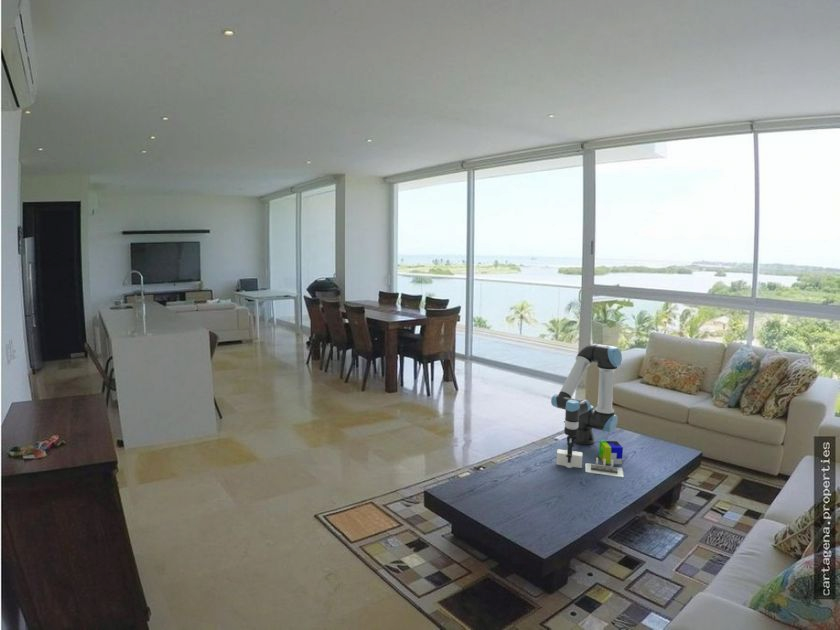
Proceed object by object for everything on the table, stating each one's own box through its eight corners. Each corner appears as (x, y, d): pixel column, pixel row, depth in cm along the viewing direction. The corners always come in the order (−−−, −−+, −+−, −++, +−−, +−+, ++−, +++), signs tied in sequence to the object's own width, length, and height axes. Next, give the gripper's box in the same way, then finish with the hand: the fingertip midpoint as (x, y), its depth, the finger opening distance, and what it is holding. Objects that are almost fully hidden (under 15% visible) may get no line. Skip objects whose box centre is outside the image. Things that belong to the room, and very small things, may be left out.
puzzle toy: (621, 464, 304) (622, 447, 302) (604, 463, 304) (605, 447, 302) (615, 457, 313) (616, 441, 312) (598, 456, 314) (600, 440, 312)
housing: (556, 464, 301) (557, 453, 300) (556, 460, 307) (557, 449, 306) (581, 468, 297) (582, 456, 296) (581, 463, 303) (582, 452, 302)
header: (585, 463, 303) (586, 452, 302) (622, 468, 297) (622, 457, 296) (585, 472, 292) (586, 461, 291) (623, 477, 286) (624, 466, 285)
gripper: (565, 419, 312) (563, 453, 315) (563, 434, 288) (561, 470, 291) (578, 421, 309) (576, 455, 313) (577, 435, 286) (575, 472, 289)
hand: (569, 462), depth 302 cm, fingers open, 13 cm apart
